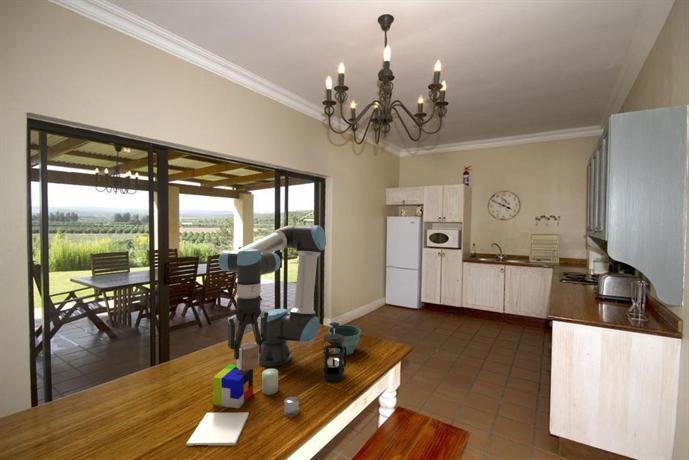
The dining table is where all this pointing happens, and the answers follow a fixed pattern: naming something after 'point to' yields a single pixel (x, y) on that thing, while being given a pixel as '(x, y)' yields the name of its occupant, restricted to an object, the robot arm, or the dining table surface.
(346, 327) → the flower pot
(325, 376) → the french press
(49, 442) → the dining table surface
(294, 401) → the grey tin
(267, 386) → the pale green egg
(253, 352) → the walnut block
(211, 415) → the plate
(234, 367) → the puzzle toy
